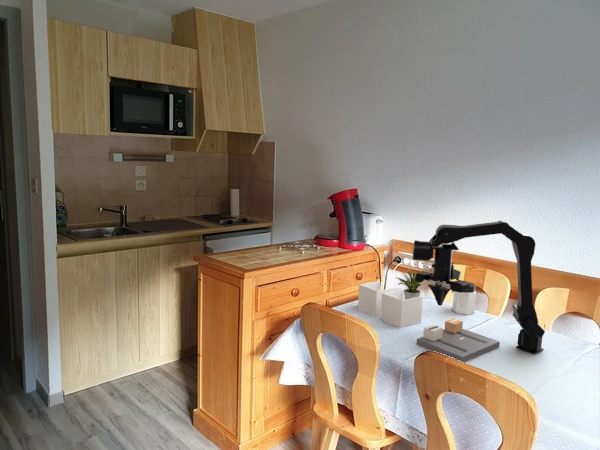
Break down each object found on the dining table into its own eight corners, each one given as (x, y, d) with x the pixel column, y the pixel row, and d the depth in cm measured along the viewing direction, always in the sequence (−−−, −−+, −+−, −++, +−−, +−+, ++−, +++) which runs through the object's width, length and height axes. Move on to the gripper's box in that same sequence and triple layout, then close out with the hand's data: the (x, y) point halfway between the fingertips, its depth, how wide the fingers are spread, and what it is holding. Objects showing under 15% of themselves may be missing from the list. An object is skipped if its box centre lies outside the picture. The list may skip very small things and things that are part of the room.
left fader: (442, 338, 161) (442, 327, 160) (433, 341, 158) (433, 330, 157) (432, 334, 164) (433, 324, 164) (423, 337, 161) (424, 327, 160)
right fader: (462, 330, 168) (462, 321, 168) (454, 333, 165) (454, 323, 165) (452, 327, 171) (453, 317, 171) (444, 330, 168) (445, 320, 168)
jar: (450, 312, 195) (452, 284, 193) (454, 307, 202) (456, 280, 200) (472, 316, 191) (474, 287, 189) (475, 310, 198) (478, 283, 196)
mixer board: (499, 347, 160) (499, 341, 160) (462, 363, 147) (462, 356, 146) (453, 330, 174) (454, 325, 174) (416, 344, 161) (416, 338, 160)
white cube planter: (358, 309, 196) (359, 284, 195) (377, 305, 202) (378, 281, 201) (400, 328, 176) (402, 300, 174) (420, 323, 181) (422, 296, 180)
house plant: (409, 297, 215) (411, 262, 213) (435, 304, 205) (437, 268, 202) (389, 302, 206) (391, 266, 204) (415, 311, 195) (417, 273, 193)
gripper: (480, 263, 158) (476, 308, 160) (433, 254, 172) (431, 295, 175) (462, 268, 151) (458, 314, 153) (415, 257, 165) (412, 300, 168)
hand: (439, 305), depth 162 cm, fingers closed
